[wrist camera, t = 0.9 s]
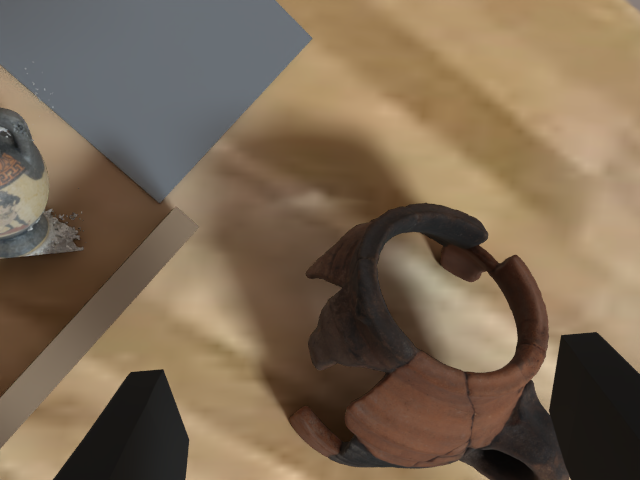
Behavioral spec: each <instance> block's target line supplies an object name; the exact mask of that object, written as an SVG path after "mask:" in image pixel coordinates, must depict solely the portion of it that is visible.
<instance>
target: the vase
mask: <svg viewBox="0 0 640 480" xmlns="http://www.w3.org/2000/svg"><path fill="white" fill-rule="evenodd" d="M33 63H34V62H33ZM25 69H26V68H25ZM27 74H28V73H27ZM32 83H33V85H34V82H32ZM37 90H38V89H37ZM44 90H45V88H44ZM36 94H38V93H36V92H35V95H36ZM38 99H39V100H40V98H39V97H38ZM40 101H41V100H40ZM52 108H53V107H52ZM33 141H34V140H32V136H31V134H30V130H29V128H28V126H27V124H26V122H25V120H24V119H23V118H22V117H21V116H20V115H19V114H18V113H16V112H14V111H12V110H9V109H4V108H0V259H3V258H12V257H22V256H32V255H41V254H53V253H63V252H72V251H81V250H84V249H83V247H81V248H80V247H76V244H75V243H74V242H73V240H74V239H77V240H80V236H79V235H77V236H76V234H78V231H77V230H75V227H72V228H71V227H68V225H66V224H65V223H61V222H59V221H58V219H57V218H56V217H52V216H53V215H52V216H50V215H51V212H54V211H52V209H49V210H47V211H45V207H46V204H47V200H48V194H49V178H48V172H47V168H46V165H45V162H44V160H43V158H42V156H41V154H40V152H39V150H38V149H37V147H36V146H35V144H34V143H33ZM78 189H79V188H78ZM73 214H74V215H70V217H69V218H71V219H72V220H74V219H75V217H76V216H77V215H78V214H75V213H73ZM81 214H82V211H81ZM55 216H56V215H55ZM63 216H64V214H63V215H62V216H60V215H59V218H60V219H62V220H64V219H63ZM71 216H73V217H74V218H72V217H71ZM66 217H68V216H67V215H66ZM79 219H80V218H79ZM82 221H84V220H83V219H82ZM66 223H68V222H66ZM80 228H81V227H79V228H78V229H80ZM80 231H81V230H80ZM83 231H84V230H83ZM85 243H86V242H85Z"/></svg>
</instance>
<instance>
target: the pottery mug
mask: <svg viewBox="0 0 640 480" xmlns="http://www.w3.org/2000/svg"><path fill="white" fill-rule="evenodd" d="M407 232H420V233H422V234H424V235H426V236H428V237H429V238H431V239H433V240H435V241H436V242H438V243H439V244H441V245H443V247H442V251H441V258H440V264H441V265H442V267H443V268H444V269H446V270H447V271H449V272H451V273H452V274H454V275H455V276H457V277H460V278H462V279H463V280H466V281H468V282H474V281H476V280H478V279H479V278H480V276H481V273H482V272H485V271H487V272H488V273H489V275H490V276H491V277H492V278H493V279H494V280H495V282H496V283H497V284H498V286H499V287H500V289H501V291H502V292H503V294H504V296H505V298H506V300H507V302H508V304H509V306H510V309H511V310H512V313H513V316H514V319H515V323H516V327H517V334H518V342H517V346H516V352H515V355H514V357H513V359H512V360H511V361H510V362H509V363H508V364H507V365H506V366H505V367H503V368H501V369H499V370H496V371H492V372H486V373H475V372H463V371H462V370H459V369H456V368H453V367H450V366H447V365H445V364H443V363H441V362H439V361H438V360H436V359H434V358H433V357H431V356H429V355H428V354H426V353H425V352H423V351H422V350H419V349H417V348H416V347H415V346H414V345H413V343H412V342H411V341H410V340H409V338H408V337H407V336H406V335H405V334H404V333H403V332H402V330H401V329H400V328H399V327H398V325H397V324H396V323H395V321H394V320H393V318H392V316H391V315H390V313H389V311H388V309H387V306H386V304H385V301H384V299H383V296H382V294H381V290H380V286H379V281H378V271H377V263H378V260H379V255H380V252H381V250H382V249H383V247H384V244H385V243H386V242H387V241H388V240H390V239H391V238H392V237H394V236H395V235H398V234H401V233H407ZM487 239H488V232H487V231H486V229H485V228H484V226H483V224H482V223H481V222H480V221H479V220H478V219H476V218H474V217H472V216H469V215H468V214H466V213H463V212H461V211H459V210H454V209H451V208H448V207H445V206H442V205H436V204H428V203H422V204H411V205H408V206H406V207H398V208H395V209H391V210H388V211H387V212H386V213H385V214H383V215H381V216H380V217H378V218H377V219H373V220H371V221H370V222H369V223H364V224H359V225H356V226H355V227H354V228H352V229H351V230H349V231H348V232H347V233H346V234H345V235H344V236H343V237H342V238H341V239H340V240H339V241H338V242H337V243H336V244H335V245H334V246H333V247H332V248H331V249H330V250H328V251H327V252H326V253H325V254H324V255H323V256H322V257H320V258H319V259H318V260H317V261H316V262H315V263H314V264H313V265H312V266H311V267H310V268H309V269H308V271H307V272H306V276H307V277H308V278H310V279H315V278H319V279H324V280H326V281H328V282H330V283H333V284H335V285H338V286H340V287H342V289H341V290H340V291H339V292H338V293H336V294H335V295H334V296H332V297H331V298H330V299H329V300H328V302H327V303H326V305H325V306H324V307H323V309H322V311H321V314H320V317H319V322H318V326H317V328H316V329H315V330H314V332H313V333H312V334H311V336H310V338H309V342H308V345H309V350H310V354H311V359H312V363H313V365H314V366H315V368H316V369H318V370H324V369H326V368H329V367H331V366H333V365H335V364H336V363H339V364H341V365H344V366H349V367H364V368H369V369H373V370H379V371H383V372H386V375H385V376H384V378H383V379H382V380H381V381H380V382H379V383H378V384H376V385H375V386H374V387H373V388H372V389H371V390H370V391H369V392H368V393H366V394H365V395H364V396H362V397H360V398H358V399H356V400H354V401H353V402H351V403H350V404H349V405H348V406H347V408H346V410H347V411H346V413H345V424H346V426H347V428H348V429H349V430H350V431H351V432H352V433H354V434H355V435H354V436H353V437H352V439H351V440H350V442H343V441H341V440H340V439H339V438H338V437H337V436H336V435H335V434H333V433H332V432H331V431H330V430H329V429H328V428H327V427H326V426H325V425H324V424H323V423H322V422H321V420H320V419H319V418H318V417H317V416H316V415H315V414H314V412H313V411H312V410H311V409H310V408H309V407H307V406H303V407H301V408H300V409H299V410H298V411H296V412H295V414H293V415H292V416H291V417H290V424H291V426H292V427H293V428H294V429H295V431H296V432H297V433H298V435H299V436H300V437H301V438H302V439H303V440H304V441H305V442H306V443H307V444H309V445H310V446H311V447H312V448H313V449H315V450H316V451H318V452H319V453H321V454H322V455H324V456H326V457H328V458H329V459H331V460H333V461H335V462H338V463H340V464H344V465H348V466H352V467H396V468H429V467H436V466H441V465H446V464H451V463H453V462H456V461H458V460H460V461H462V462H464V463H466V464H468V465H470V466H472V467H474V468H475V469H476V470H477V471H478V472H480V473H481V474H482V475H484V476H486V477H487V478H488V479H490V480H569V477H570V476H569V474H568V471H567V469H566V466H565V463H564V460H563V457H562V454H561V450H560V447H559V444H558V441H557V437H556V433H555V430H554V426H553V423H552V419H551V416H550V415H549V414H548V412H547V411H546V410H545V409H544V407H543V406H542V405H541V403H540V401H539V399H538V397H537V395H536V392H535V388H534V383H533V381H532V380H531V379H532V378H533V376H535V375H536V373H537V372H538V371H539V369H540V367H541V365H542V363H543V362H544V359H545V357H546V350H547V348H548V339H549V334H548V316H547V312H546V306H545V304H544V302H543V299H542V296H541V292H540V290H539V288H538V286H537V283H536V281H535V279H534V277H533V276H532V274H531V272H530V271H529V269H528V267H527V266H526V265H525V263H524V262H523V261H522V260H521V258H519V257H518V256H517V255H513V256H511V257H509V258H507V259H506V260H505V261H504V262H502V263H498V262H497V261H496V260H495V259H494V258H493V257H492V256H491V255H490V254H489V253H488V252H487V251H486V250H484V249H483V248H482V247H480V246H479V244H481V243H483V242H485V241H486V240H487Z"/></svg>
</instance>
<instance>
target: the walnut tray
mask: <svg viewBox="0 0 640 480" xmlns="http://www.w3.org/2000/svg"><path fill="white" fill-rule="evenodd" d="M198 228H199V226H198V225H197V224H196V223H195V222H194V221H192V220H191V219H190V218H189V217H188V216H187V215H186V214H184V213H183V212H182V211H181V210H180V209H179V208H178V207H175V208H174V209H173V210H172V211H171V212H170V213H169V214H168V215H167V216H166V217H165V218H164V219H163V221H162V222H161V223H160V224H159V225H158V226H157V227H156V228H155V229H154V230H153V231H152V233H151V234H150V235H149V236H148V237H147V238H146V239H145V240H144V241H143V242H142V243H141V245H140V246H139V247H138V248H137V249H136V250H135V251H134V252H133V253H132V254H131V255H130V257H129V258H128V259H127V260H126V261H125V262H124V263H123V264H122V265H121V266H120V267H119V268H118V270H117V271H116V272H115V273H114V274H113V275H112V276H111V277H110V278H109V279H108V280H107V282H106V283H105V284H104V285H103V286H102V287H101V288H100V289H99V290H98V291H97V292H96V294H95V295H94V296H93V297H92V298H91V299H90V300H89V301H88V302H87V303H86V304H85V306H84V307H83V308H82V309H81V310H80V311H79V312H78V313H77V314H76V315H75V316H74V318H73V319H72V320H71V321H70V322H69V323H68V324H67V325H66V326H65V327H64V328H63V329H62V331H61V332H60V333H59V334H58V335H57V336H56V337H55V338H54V339H53V340H52V341H51V343H50V344H49V345H48V346H47V347H46V348H45V349H44V350H43V351H42V352H41V353H40V355H39V356H38V357H37V358H36V359H35V360H34V361H33V362H32V363H31V364H30V365H29V367H28V368H27V369H26V370H25V371H24V372H23V373H22V374H21V375H20V376H19V377H18V379H17V380H16V381H15V382H14V383H13V384H12V385H11V386H10V387H9V388H8V389H7V391H6V392H5V393H4V394H3V395H2V396H1V397H0V448H1V447H2V446H3V445H4V444H5V443H6V442H7V441H8V439H9V438H10V437H11V436H12V435H13V434H14V433H15V432H16V431H17V429H18V428H19V427H20V426H21V425H22V424H23V423H24V422H25V421H26V419H27V418H28V417H29V416H30V415H31V414H32V413H33V412H34V411H35V409H36V408H37V407H38V406H39V405H40V404H41V403H42V402H43V401H44V399H45V398H46V397H47V396H48V395H49V394H50V393H51V392H52V390H53V389H54V388H55V387H56V386H57V385H58V384H59V383H60V382H61V380H62V379H63V378H64V377H65V376H66V375H67V374H68V373H69V372H70V370H71V369H72V368H73V367H74V366H75V365H76V364H77V363H78V362H79V360H80V359H81V358H82V357H83V356H84V355H85V354H86V353H87V351H88V350H89V349H90V348H91V347H92V346H93V345H94V344H95V343H96V341H97V340H98V339H99V338H100V337H101V336H102V335H103V334H104V333H105V331H106V330H107V329H108V328H109V327H110V326H111V325H112V324H113V323H114V321H115V320H116V319H117V318H118V317H119V316H120V315H121V314H122V312H123V311H124V310H125V309H126V308H127V307H128V306H129V305H130V304H131V302H132V301H133V300H134V299H135V298H136V297H137V296H138V295H139V294H140V292H141V291H142V290H143V289H144V288H145V287H146V286H147V285H148V284H149V282H150V281H151V280H152V279H153V278H154V277H155V276H156V275H157V274H158V272H159V271H160V270H161V269H162V268H163V267H164V266H165V265H166V263H167V262H168V261H169V260H170V259H171V258H172V257H173V256H174V255H175V253H176V252H177V251H178V250H179V249H180V248H181V247H182V246H183V245H184V243H185V242H186V241H187V240H188V239H189V238H190V237H191V236H192V235H193V233H194V232H195V231H196V230H197V229H198Z"/></svg>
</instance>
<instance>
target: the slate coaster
mask: <svg viewBox="0 0 640 480" xmlns="http://www.w3.org/2000/svg"><path fill="white" fill-rule="evenodd" d="M311 40H312V37H311V36H310V35H309V34H308V33H307V32H306V31H305V30H304V29H303V28H302V27H301V26H300V25H299V24H298V23H297V22H296V21H295V20H294V19H293V18H292V17H291V16H290V15H289V14H288V13H287V12H286V11H285V10H284V9H283V8H282V7H281V6H280V5H279V4H278V3H277V2H276V1H275V0H0V65H1V66H2V67H3V68H4V69H6V70H7V71H8V72H9V73H10V74H11V75H12V76H14V77H15V78H16V79H17V80H18V81H19V82H21V83H22V84H23V85H24V86H25V87H26V88H27V89H29V90H30V91H31V92H32V93H33V94H34V95H35V92H36V93H38V94H36V95H35V96H37V97H39V98H40V100H41V101H42V102H43V103H45V104H46V105H47V106H48V107H49V108H50V109H52V110H53V111H54V112H55V113H56V114H57V115H58V116H60V117H61V118H62V119H63V120H64V121H65V122H66V123H68V124H69V125H70V126H71V127H72V128H73V129H75V130H76V131H77V132H78V133H79V134H80V135H81V136H83V137H84V138H85V139H86V140H87V141H88V142H89V143H91V144H92V145H93V146H94V147H95V148H96V149H97V150H99V151H100V152H101V153H102V154H103V155H104V156H106V157H107V158H108V159H109V160H110V161H111V162H112V163H114V164H115V165H116V166H117V167H118V168H119V169H120V170H122V171H123V172H124V173H125V174H126V175H127V176H128V177H130V178H131V179H132V180H133V181H134V182H135V183H137V184H138V185H139V186H140V187H141V188H142V189H143V190H145V191H146V192H147V193H148V194H149V195H150V196H151V197H153V198H154V199H155V200H156V201H157V202H158V203H160V202H161V201H162V200H163V199H164V198H165V197H166V196H167V195H168V194H169V193H170V192H171V191H172V189H173V188H174V187H175V186H176V185H177V184H178V183H179V182H180V181H181V180H182V179H183V178H184V177H185V175H186V174H187V173H188V172H189V171H190V170H191V169H192V168H193V167H194V166H195V165H196V164H197V163H198V161H199V160H200V159H201V158H202V157H203V156H204V155H205V154H206V153H207V152H208V151H209V150H210V148H211V147H212V146H213V145H214V144H215V143H216V142H217V141H218V140H219V139H220V138H221V137H222V136H223V134H224V133H225V132H226V131H227V130H228V129H229V128H230V127H231V126H232V125H233V124H234V123H235V122H236V120H237V119H238V118H239V117H240V116H241V115H242V114H243V113H244V112H245V111H246V110H247V109H248V107H249V106H250V105H251V104H252V103H253V102H254V101H255V100H256V99H257V98H258V97H259V96H260V95H261V93H262V92H263V91H264V90H265V89H266V88H267V87H268V86H269V85H270V84H271V83H272V82H273V81H274V79H275V78H276V77H277V76H278V75H279V74H280V73H281V72H282V71H283V70H284V69H285V68H286V67H287V65H288V64H289V63H290V62H291V61H292V60H293V59H294V58H295V57H296V56H297V55H298V54H299V52H300V51H301V50H302V49H303V48H304V47H305V46H306V45H307V44H308V43H309V42H310V41H311ZM33 62H34V63H33ZM25 68H26V69H25ZM27 73H28V74H27ZM32 82H34V85H33V83H32ZM44 88H45V90H44ZM37 89H38V90H37ZM52 107H53V108H52Z"/></svg>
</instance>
